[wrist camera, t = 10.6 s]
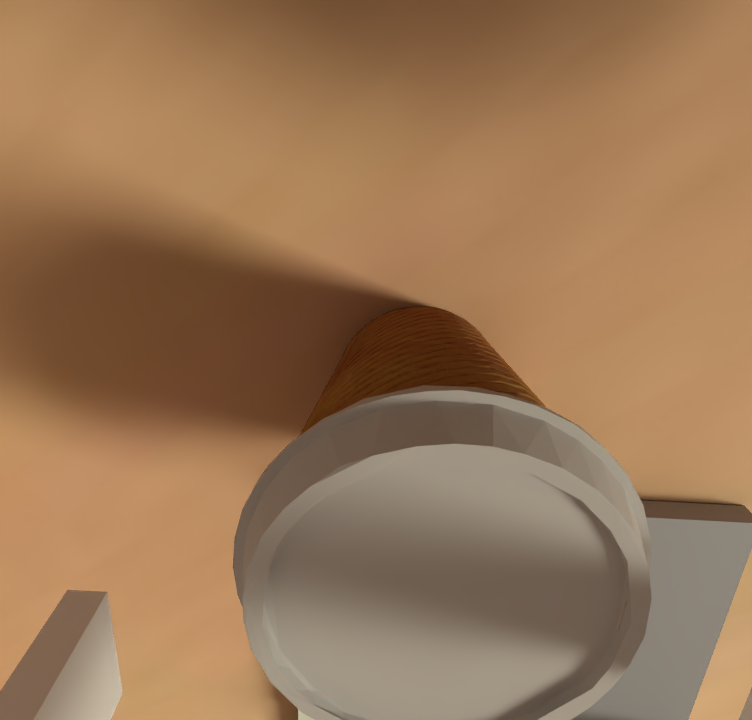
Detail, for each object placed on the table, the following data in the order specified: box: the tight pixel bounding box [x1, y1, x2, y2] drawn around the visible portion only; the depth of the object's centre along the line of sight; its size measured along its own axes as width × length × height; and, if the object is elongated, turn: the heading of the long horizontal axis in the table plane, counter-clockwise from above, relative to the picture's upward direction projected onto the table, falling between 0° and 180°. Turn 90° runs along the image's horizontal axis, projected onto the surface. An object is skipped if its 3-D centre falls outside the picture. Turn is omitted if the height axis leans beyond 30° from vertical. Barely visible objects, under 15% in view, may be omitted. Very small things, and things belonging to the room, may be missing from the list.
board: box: [298, 500, 752, 720], centre depth 27 cm, size 21×19×5 cm
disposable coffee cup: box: [233, 307, 652, 720], centre depth 18 cm, size 10×10×12 cm
